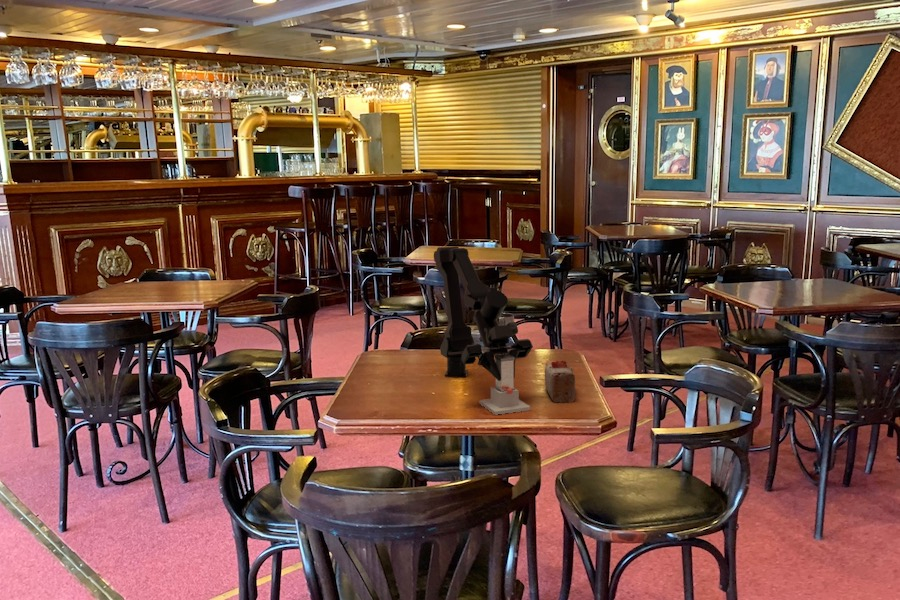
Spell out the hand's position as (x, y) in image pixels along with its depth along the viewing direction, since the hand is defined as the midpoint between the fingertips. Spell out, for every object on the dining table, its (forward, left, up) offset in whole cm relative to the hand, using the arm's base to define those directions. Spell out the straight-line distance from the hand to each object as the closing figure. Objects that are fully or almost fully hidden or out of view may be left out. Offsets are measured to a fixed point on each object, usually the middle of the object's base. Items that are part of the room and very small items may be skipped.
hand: (506, 379), depth 186 cm
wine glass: (-50, -4, -8) cm, 51 cm away
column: (-1, -1, -7) cm, 7 cm away
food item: (-13, +14, -8) cm, 21 cm away
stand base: (-1, -1, -8) cm, 8 cm away
